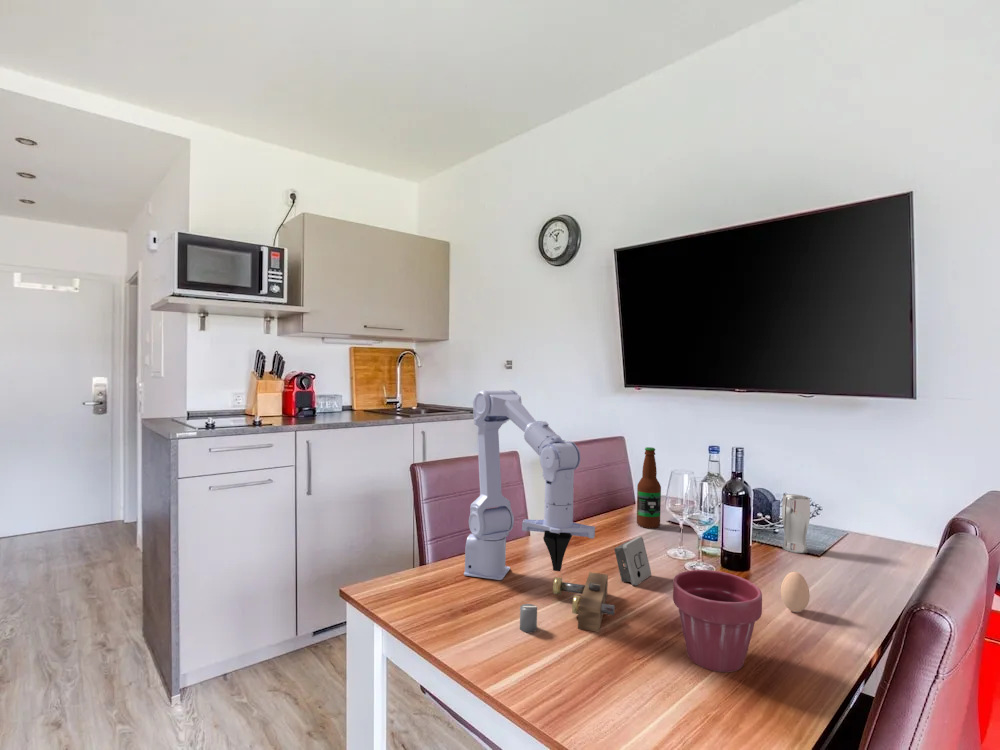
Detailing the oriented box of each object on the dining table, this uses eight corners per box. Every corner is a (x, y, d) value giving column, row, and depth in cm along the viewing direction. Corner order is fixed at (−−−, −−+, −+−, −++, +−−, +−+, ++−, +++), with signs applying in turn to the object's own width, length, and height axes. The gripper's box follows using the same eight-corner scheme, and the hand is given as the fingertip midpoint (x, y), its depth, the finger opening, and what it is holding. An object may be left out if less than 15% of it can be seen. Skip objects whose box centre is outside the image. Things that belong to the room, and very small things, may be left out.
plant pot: (714, 690, 83) (716, 607, 83) (654, 646, 96) (656, 575, 95) (779, 671, 88) (781, 594, 88) (714, 632, 101) (716, 565, 101)
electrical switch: (635, 587, 122) (632, 546, 122) (614, 583, 125) (612, 543, 125) (651, 575, 129) (649, 537, 130) (632, 572, 132) (629, 534, 133)
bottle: (637, 528, 168) (639, 449, 168) (635, 521, 175) (637, 445, 175) (661, 529, 167) (663, 450, 167) (658, 523, 174) (660, 446, 174)
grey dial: (520, 632, 100) (521, 610, 99) (518, 624, 103) (519, 602, 103) (537, 632, 100) (538, 610, 100) (535, 624, 103) (535, 602, 103)
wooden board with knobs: (577, 628, 102) (578, 600, 102) (589, 591, 119) (589, 567, 119) (599, 631, 100) (599, 603, 100) (607, 593, 118) (607, 569, 118)
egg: (815, 616, 109) (816, 576, 109) (792, 618, 108) (793, 577, 108) (796, 605, 114) (797, 566, 114) (774, 606, 113) (775, 567, 113)
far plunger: (552, 596, 114) (553, 580, 114) (555, 590, 118) (555, 574, 118) (590, 601, 112) (590, 585, 112) (592, 595, 115) (592, 579, 115)
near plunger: (572, 616, 105) (572, 599, 105) (574, 609, 108) (574, 592, 108) (613, 622, 103) (613, 605, 103) (614, 615, 106) (615, 598, 106)
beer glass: (809, 548, 151) (811, 496, 151) (808, 555, 146) (809, 501, 145) (782, 544, 155) (783, 492, 155) (779, 550, 149) (781, 497, 149)
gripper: (519, 503, 106) (517, 571, 106) (592, 510, 102) (591, 581, 102) (527, 495, 113) (525, 559, 113) (596, 501, 109) (595, 568, 109)
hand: (557, 569), depth 108 cm, fingers closed
